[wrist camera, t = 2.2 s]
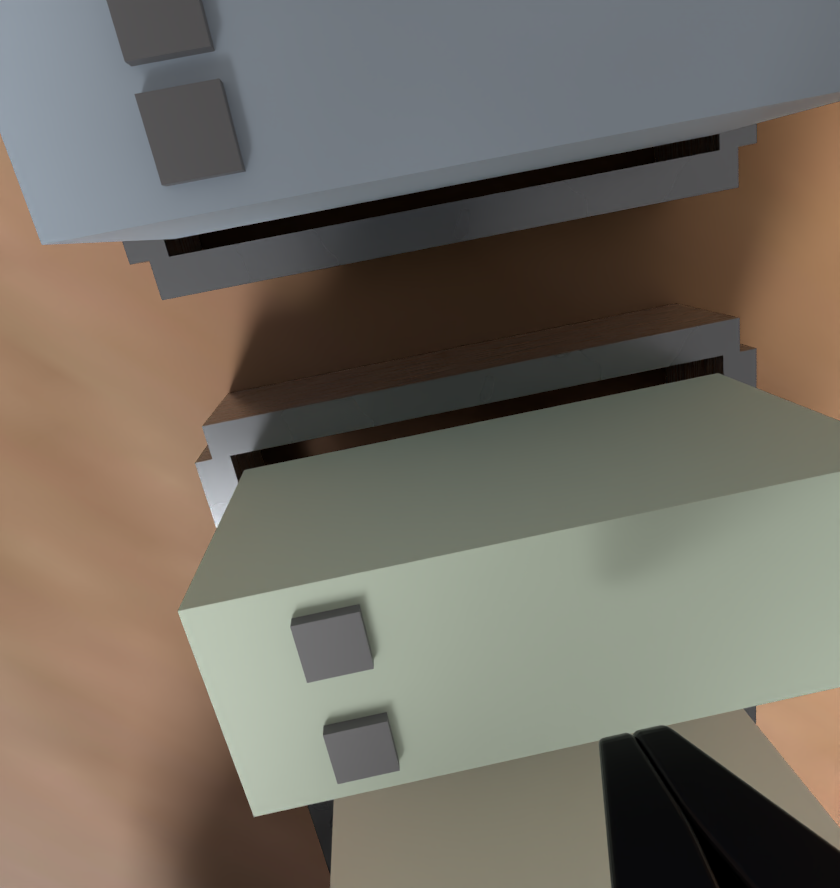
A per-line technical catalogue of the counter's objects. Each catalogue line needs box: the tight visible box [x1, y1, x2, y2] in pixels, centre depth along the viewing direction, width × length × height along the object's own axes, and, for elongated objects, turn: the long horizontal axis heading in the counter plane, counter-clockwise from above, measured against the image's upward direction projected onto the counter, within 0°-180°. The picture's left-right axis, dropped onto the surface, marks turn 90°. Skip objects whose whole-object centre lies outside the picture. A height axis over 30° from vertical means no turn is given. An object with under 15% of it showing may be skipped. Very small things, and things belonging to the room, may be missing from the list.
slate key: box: [0, 0, 840, 245], centre depth 9 cm, size 11×4×6 cm, turn 100°
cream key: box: [330, 709, 840, 888], centre depth 15 cm, size 11×4×6 cm, turn 100°
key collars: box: [122, 124, 757, 875], centre depth 16 cm, size 13×24×3 cm, turn 10°
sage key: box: [178, 373, 840, 817], centre depth 12 cm, size 11×4×6 cm, turn 100°
